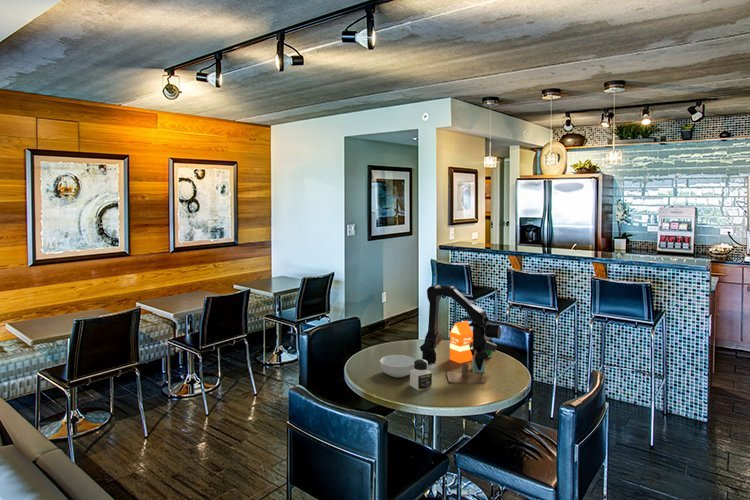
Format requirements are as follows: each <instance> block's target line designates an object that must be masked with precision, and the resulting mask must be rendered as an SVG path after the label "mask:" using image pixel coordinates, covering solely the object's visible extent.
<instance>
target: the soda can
mask: <svg viewBox="0 0 750 500" xmlns="http://www.w3.org/2000/svg"><path fill="white" fill-rule="evenodd" d="M485 339H486V340H488V339H492V340H493V338H488V337H487V336H485ZM483 351H486V352H487V353H488V355H489V356H488V359H490V357H492V356H493V351H491V350H488V349H486V350H483Z"/></svg>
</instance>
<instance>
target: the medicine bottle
mask: <svg viewBox="0 0 750 500" xmlns="http://www.w3.org/2000/svg"><path fill="white" fill-rule="evenodd" d="M428 365H429V363H428V362H427V361H426V360H423V359H422V358H420V359H415V361H414V370H410V374H409V385H410V387H412V388H414V389H415V390H417V391H419V392H420V391H424V390H429V389H432V387H433V384H432V383H433V372H431V371H430V370H429V367H428Z"/></svg>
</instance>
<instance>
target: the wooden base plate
mask: <svg viewBox="0 0 750 500" xmlns="http://www.w3.org/2000/svg"><path fill="white" fill-rule="evenodd" d="M481 373H482V372H473V371H472V372H469V364H468V362H463V363H461V372H460V371H459V372H458V371H457V372H454V371H453V372H449V371H447V372H446V373H445V375H446V377H447V381H448V384H466V385H467V384H475V385H476V384H479V385H480V384H486V382H485V379H484V377H483V376H482V375H483V374H481Z"/></svg>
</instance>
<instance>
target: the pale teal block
mask: <svg viewBox="0 0 750 500" xmlns="http://www.w3.org/2000/svg"><path fill="white" fill-rule="evenodd" d="M471 369H472V372H480V373H485V371H486V370H485V369H486V359H485V360H484V361H483V364H482V367H481V370H478V367H477V365H476V362H475V359H474V355H472V360H471Z"/></svg>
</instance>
